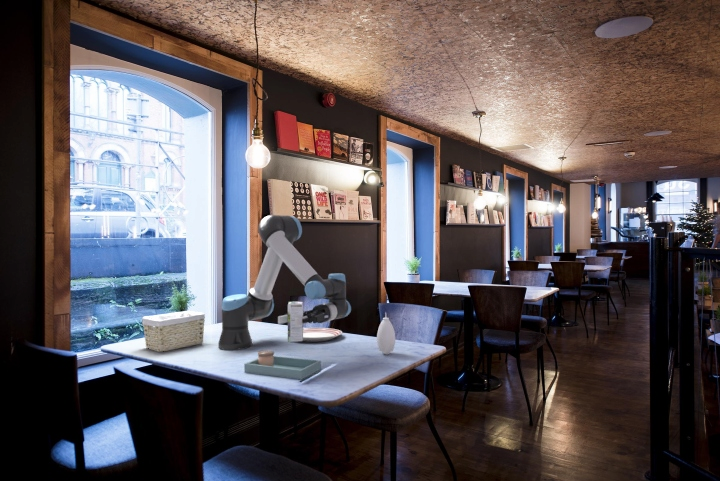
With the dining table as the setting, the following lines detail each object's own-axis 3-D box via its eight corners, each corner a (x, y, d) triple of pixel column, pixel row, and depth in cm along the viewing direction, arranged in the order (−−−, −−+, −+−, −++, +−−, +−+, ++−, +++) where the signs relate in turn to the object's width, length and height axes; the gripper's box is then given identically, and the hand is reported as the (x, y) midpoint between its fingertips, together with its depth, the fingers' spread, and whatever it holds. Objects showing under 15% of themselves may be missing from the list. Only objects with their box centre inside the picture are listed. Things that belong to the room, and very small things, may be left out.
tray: (244, 374, 172) (244, 363, 172) (267, 365, 185) (266, 355, 185) (301, 382, 162) (301, 370, 162) (320, 371, 175) (320, 360, 175)
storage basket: (158, 353, 206) (157, 320, 206) (140, 348, 216) (140, 316, 216) (206, 344, 224) (206, 313, 224) (188, 339, 235) (188, 310, 235)
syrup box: (288, 338, 183) (287, 301, 183) (303, 338, 184) (303, 301, 184) (287, 342, 178) (287, 303, 178) (303, 341, 178) (302, 303, 178)
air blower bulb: (375, 352, 204) (374, 310, 204) (392, 351, 205) (391, 309, 205) (379, 356, 196) (379, 313, 196) (397, 355, 198) (397, 312, 198)
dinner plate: (311, 330, 254) (311, 324, 254) (352, 336, 239) (352, 329, 239) (275, 340, 232) (275, 333, 232) (318, 346, 216) (318, 339, 216)
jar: (254, 369, 175) (254, 353, 175) (264, 365, 180) (264, 350, 180) (268, 371, 173) (267, 354, 173) (277, 367, 178) (276, 351, 178)
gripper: (344, 323, 190) (308, 333, 171) (305, 319, 201) (267, 328, 182) (344, 305, 190) (308, 313, 171) (304, 302, 201) (266, 309, 182)
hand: (287, 321), depth 177 cm, fingers closed on syrup box, 8 cm apart
